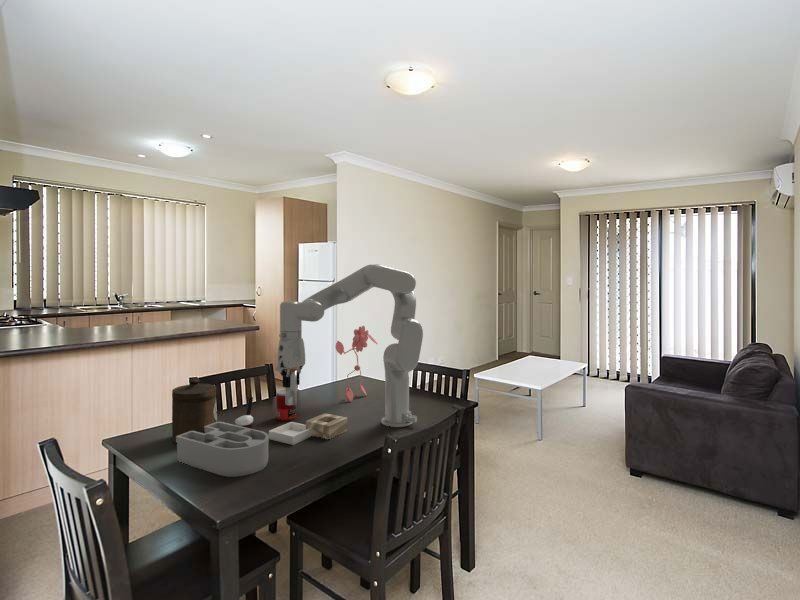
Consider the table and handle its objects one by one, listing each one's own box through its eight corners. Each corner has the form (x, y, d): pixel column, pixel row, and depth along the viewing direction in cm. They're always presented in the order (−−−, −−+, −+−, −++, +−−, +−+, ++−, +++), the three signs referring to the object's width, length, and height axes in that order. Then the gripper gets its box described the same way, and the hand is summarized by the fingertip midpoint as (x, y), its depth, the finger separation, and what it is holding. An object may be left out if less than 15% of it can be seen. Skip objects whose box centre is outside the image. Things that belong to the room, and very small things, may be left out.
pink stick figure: (330, 403, 209) (331, 327, 207) (365, 391, 231) (366, 322, 228) (356, 409, 201) (357, 330, 198) (390, 396, 222) (391, 325, 220)
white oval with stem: (238, 438, 167) (237, 406, 165) (229, 433, 171) (227, 402, 169) (261, 430, 174) (260, 399, 173) (251, 426, 178) (250, 396, 177)
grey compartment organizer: (219, 445, 159) (218, 421, 159) (280, 461, 146) (279, 435, 145) (176, 463, 145) (175, 436, 144) (239, 482, 131) (238, 453, 131)
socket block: (347, 430, 174) (347, 417, 174) (329, 439, 164) (329, 426, 164) (324, 425, 179) (324, 413, 179) (305, 434, 170) (305, 421, 169)
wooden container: (226, 435, 169) (224, 376, 168) (189, 448, 156) (188, 384, 155) (200, 428, 176) (198, 371, 175) (163, 440, 164) (161, 379, 162)
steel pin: (301, 403, 167) (301, 365, 166) (291, 406, 163) (291, 367, 162) (290, 401, 170) (290, 363, 169) (280, 404, 165) (280, 365, 164)
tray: (315, 434, 169) (314, 426, 169) (293, 445, 159) (293, 436, 159) (291, 429, 175) (291, 421, 175) (268, 439, 165) (268, 430, 165)
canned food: (291, 421, 184) (291, 394, 183) (273, 420, 186) (272, 393, 185) (299, 416, 191) (299, 390, 191) (281, 414, 193) (281, 389, 192)
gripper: (281, 339, 156) (282, 392, 157) (314, 333, 170) (314, 382, 171) (265, 337, 159) (266, 389, 160) (298, 332, 174) (299, 380, 175)
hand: (291, 385), depth 166 cm, fingers closed on steel pin, 4 cm apart
